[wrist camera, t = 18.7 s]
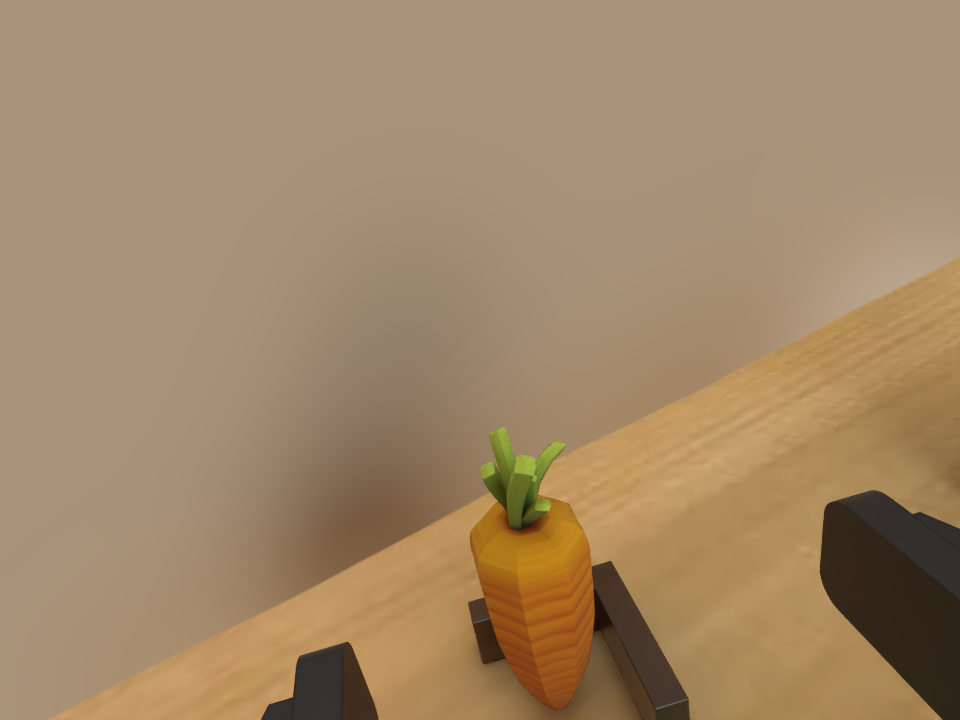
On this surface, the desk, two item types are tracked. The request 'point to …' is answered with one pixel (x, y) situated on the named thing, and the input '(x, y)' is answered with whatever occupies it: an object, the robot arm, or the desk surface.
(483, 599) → the corner stop
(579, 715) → the desk surface
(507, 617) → the carrot
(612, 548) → the desk surface
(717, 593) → the desk surface
